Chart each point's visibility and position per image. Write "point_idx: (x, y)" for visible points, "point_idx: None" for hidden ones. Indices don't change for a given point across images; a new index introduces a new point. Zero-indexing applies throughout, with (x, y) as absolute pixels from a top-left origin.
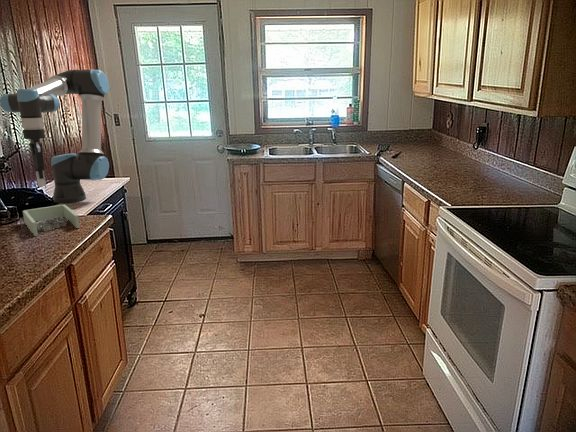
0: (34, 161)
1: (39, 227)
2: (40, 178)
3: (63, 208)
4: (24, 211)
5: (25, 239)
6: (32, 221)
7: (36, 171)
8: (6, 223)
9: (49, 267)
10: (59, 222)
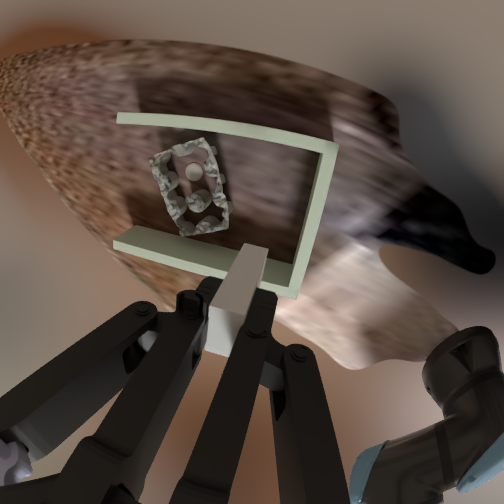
0: (229, 395)
1: (190, 143)
2: (207, 280)
3: (278, 279)
4: (313, 142)
5: (137, 87)
6: (131, 116)
7: (211, 304)
8: (384, 101)
9: (4, 111)
10: (169, 203)
